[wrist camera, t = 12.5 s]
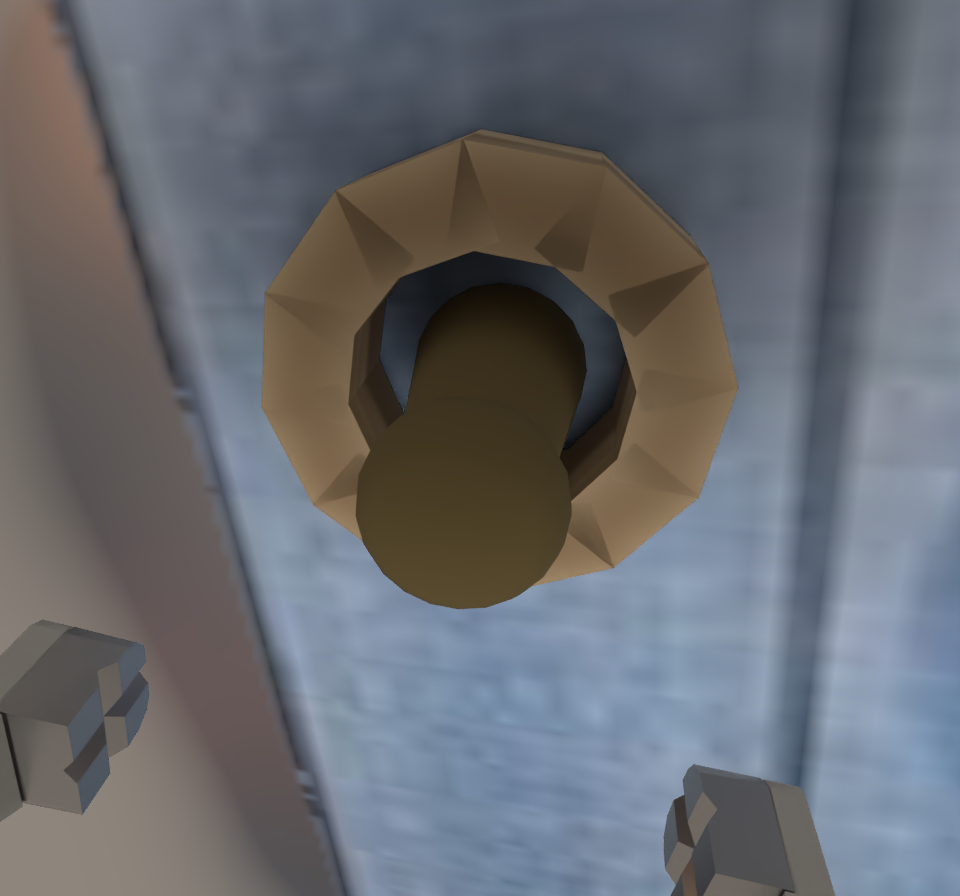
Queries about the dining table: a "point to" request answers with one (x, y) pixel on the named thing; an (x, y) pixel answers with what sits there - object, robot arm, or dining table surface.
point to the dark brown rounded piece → (477, 452)
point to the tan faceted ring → (523, 236)
